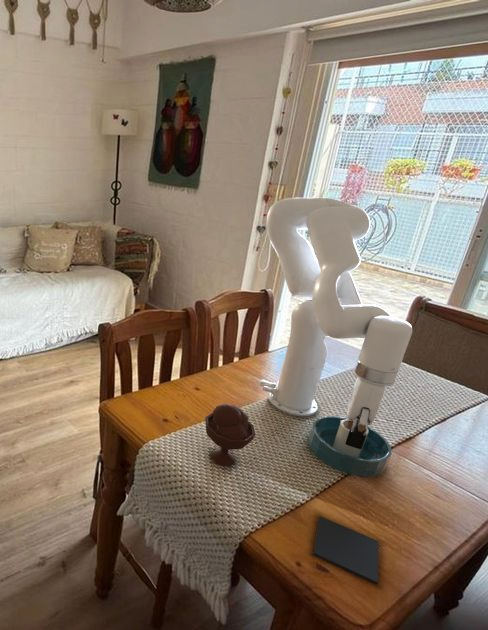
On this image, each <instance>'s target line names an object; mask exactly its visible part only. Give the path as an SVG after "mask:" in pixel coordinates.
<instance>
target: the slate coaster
mask: <svg viewBox="0 0 488 630" xmlns="http://www.w3.org/2000/svg"><path fill="white" fill-rule="evenodd" d="M315 534H316V535H315V542H314V546H313V553H312V556H314V557H317V558H319V559H321V560H323V561H325V562H327V563H330V564H332V565H333V566H334V565H335V567H338V568H340V569H342V570H344V571H346V572H349V573H351V574H353V575H355V576H357V577H359V578H362V579H364V580H366V581H368V582H370V583H372V584H375V585H378V584H379V547H380V546H379V543H380V541H379V540H377V539H375V538H373V537H370V536H368V535H365V534H363V533H361V532H359V531H356V530H354V529H352V528H349V527H348V526H347V527H346V526H344V525H342V524H339V523H338V522H336V521H333V520H330V519H328V518H326V517H324V516H321V515H319V517H318V521H317V529H316V533H315Z"/></svg>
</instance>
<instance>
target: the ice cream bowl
mask: <svg viewBox="0 0 488 630" xmlns="http://www.w3.org/2000/svg"><path fill="white" fill-rule="evenodd" d="M204 420H205V432H206V435H207V437H208V438H209V439H210V440H211V441H212V442H213V443H214V444H215V445H216V446H217V447H219V448H215V449H213V451H211V453H210V458H211V460H212V461H213V462H214V463H215V464H216V465H218V466H221V467H232V466H233V465H234V464H236V462H235V461H236V460H235V456H234V455H233V453H231V451H232V450H233V451H234V450H235V451H237V450H241V449H244V448H245V447H246V446H248V445H249V444H250V443H251V442H252V441H253V440H254V439H255V437H256V430H255V426H254V424H253V423H252V422H250V421H249V415H248V414H247V413H246V412H245V411H243V409H241V408H240V407H239V406H236V405H233V404H229V403H221V404H219V405H217V406H216V407H215V408H214V409H213V411H212V412H211V413H210V414H208V415H206V416H205V418H204Z"/></svg>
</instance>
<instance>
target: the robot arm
mask: <svg viewBox="0 0 488 630" xmlns="http://www.w3.org/2000/svg"><path fill="white" fill-rule="evenodd" d="M265 223H266V225H265V227H266V233H267V236H268V239H269V241H270V243H271V245H272V247H273V249H274V250H275V253H276V255H277V258H278V261H279V264H280V267H281V270H282V273H283V276H284V279H285V283H286V286H287V289H288V291H289V293H290V294H291V295H292V296H293V297H296V298H299V299H301V298H302V299H308V300H303V301H301V302H299V303H298V304H296V305H295V306H294V307H293V309H292V311H291V318H290V333H289V340H288V343H287V348H286V351H285V354H284V355H285V356H284V359H283V363H282V366H281V371H280V375H279V377H278V380H277V382H270V381H267V380H265V379H261V380H260V382H259V383H260V384H259V386H260V387H262V391H264V392H267V393H268V397H267V399H268V401H269V402H270V404H271V405H273V406H274V407H275V408H276V409H278V410H279V411H282V412H284V413H287V414H289V415H292V416H298V417H309V416H313V415H315V414H316V413H317V412H318V409H319V407H318V403H317V402H316V401H315V396H316V394H317V390H318V387H319V383H320V380H321V377H322V373H323V370H324V368H325V364H326V360H327V357H328V347H327V344H326V342H325V338H326V337H329V338H332V339H335V340H336V339H337V340H340V339H342V340H343V339H345V340H346V339H363V342H362V346H361V348H360V352H359V356H358V359H357V361H356V364H355V367H354V371H353V374H354V376H355V377H356V380H355V382H354V386H353V388H352V391H351V394H350V396H349V399H348V404H347V411H346V418H347V419H350V420H354V421H353V425H352V429H350V430H349V433H348V436H347V439H346V443H345V444H346V445H348V446H351V447H354V448H357V449H362V447H363V444H364V441H365V438H366V435H367V434H366V433H367V429H368V427H369V426H371V425H373V423H374V421H375V419H376V416H377V414H378V411H379V408H380V406H381V404H382V400H383V397H384V394H385V391H386V388H387V387H391V386H393V385H394V384H395V382H396V380H397V377H398V374H399V372H400V371H399V370H400V368H401V365H402V363H403V360H404V358H405V357H404V356H405V354H406V351H407V348H408V346H409V343H410V340H411V337H412V335H413V327H412V325H411V324H410V323H409V322H408V321H406V320H404V319H402V318H398V317H395V316H393V315H392V314H391V313H389V312H388V311H387V310H386V309H385V308H383V307H381V306H379V305H376V304H363V301H362V298H361V297H360V294H359V290H358V288H357V285H356V283H355V280H354V278H353V275H352V273H351V272H352V271H354V270H355V269H357V267H359V266H360V264H361V261H362V260H361V255H360V254H359V251H358V248H357V246H356V243H355V241H359V240H362V239H363V238H364V237H366V236H367V235H368V233H369V231H370V228H371V219H370V216H369V214H368V213H367V212H366V211H365V210H364V209H363V208H361V207H360V206H358V205H354V204H350V203H347V202H343V201H341V200H338V199H334V198H329V197H289V198H283V199H280V200H277V201H276V202H274V203H273V204H272V205H271V206H270V208H269V209H268V212H267V215H266V221H265ZM299 230H305V231H307V234H308V236H309V240H310V242H311V243H310V242H309V240H307V238H306V237H304V236H303V235H302V234H301V233H300V232H299ZM356 422H359V424H358V425H357V426H356Z"/></svg>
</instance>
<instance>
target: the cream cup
mask: <svg viewBox="0 0 488 630" xmlns="http://www.w3.org/2000/svg"><path fill="white" fill-rule="evenodd" d="M353 421H354V420H350V419H348V418H347V419H345V420H342V421H341V423H340V426H339V428H338V431H337V434H336V437H335V440H334V443H333V446H332V448H333V449H335V450H337V451H339V452H341V453H343V454H346V455H349V456H352V457H355V458H359V456H360V453H361V451H362V449H357V448H354V447H351V446H348V445H346V444H345V443H346V439H347V436H348V433H349V430H350V429H352V425H353ZM358 424H359V422H356V426H357V425H358ZM368 432H369V430H368V429H367V433H366V434H367V435H368ZM367 435H366V438H367ZM366 438H365V440H366ZM364 443H365V441H364ZM363 445H364V444H363ZM362 448H363V447H362Z"/></svg>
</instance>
